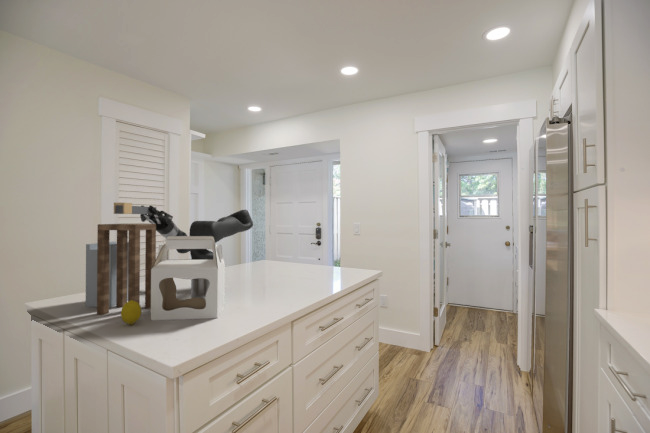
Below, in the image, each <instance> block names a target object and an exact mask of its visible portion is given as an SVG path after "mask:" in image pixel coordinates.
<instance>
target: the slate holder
mask: <svg viewBox="0 0 650 433" xmlns="http://www.w3.org/2000/svg"><path fill="white" fill-rule="evenodd" d="M128 252H129V241H128V245H127V302H128ZM116 282H117V240H116V241H115V240H114V241H109V308H112V307H114V306H116ZM85 307H90V308H94V307H95V308H97V242H96V243H87V244H86V243H85Z"/></svg>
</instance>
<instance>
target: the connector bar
mask: <svg viewBox="0 0 650 433" xmlns="http://www.w3.org/2000/svg"><path fill="white" fill-rule="evenodd" d="M143 206H144V205H141V206H138V205H133V203H132V202H113V215H114V214H115V215H141V214H147V215H148V214H152V213H151V212H150V211H149V210H148V209H149V206H144V207H143ZM153 207H154V208H155V209H156V210H157V206H153Z"/></svg>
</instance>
